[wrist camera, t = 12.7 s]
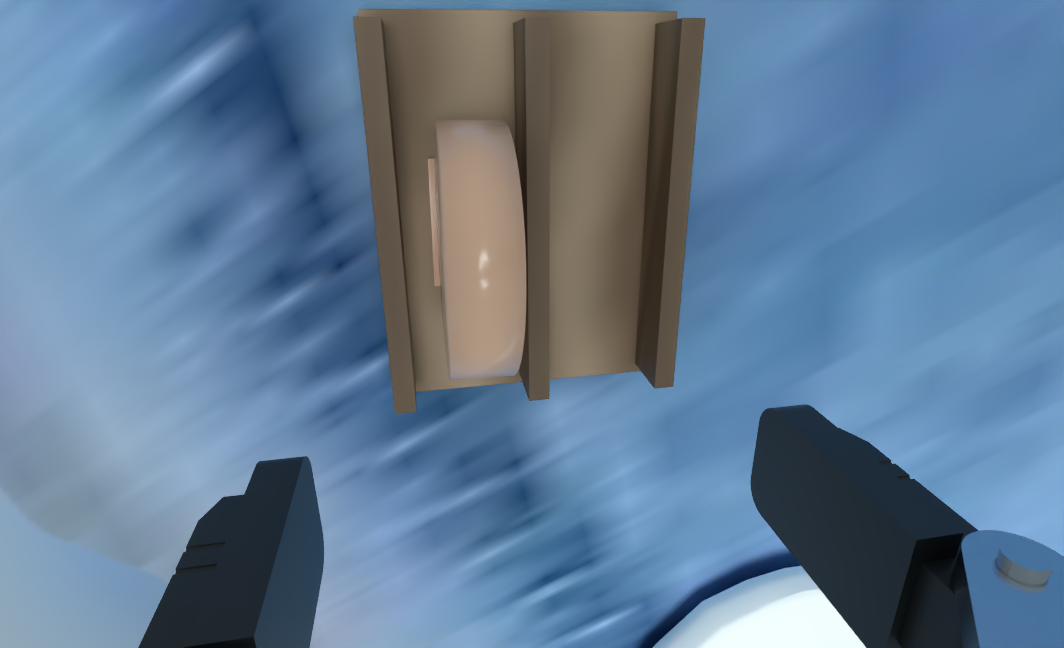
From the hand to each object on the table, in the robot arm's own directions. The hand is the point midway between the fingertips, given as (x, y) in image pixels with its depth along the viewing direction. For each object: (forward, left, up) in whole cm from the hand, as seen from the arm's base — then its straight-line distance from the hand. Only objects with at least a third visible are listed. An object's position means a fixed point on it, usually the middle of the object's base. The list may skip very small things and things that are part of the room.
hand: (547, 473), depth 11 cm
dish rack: (-3, 0, -22) cm, 22 cm away
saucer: (0, 0, -20) cm, 21 cm away
